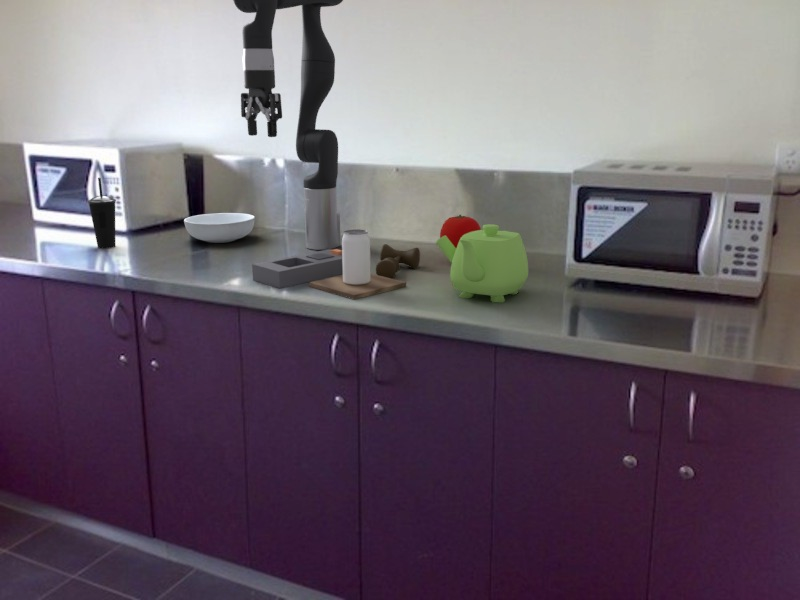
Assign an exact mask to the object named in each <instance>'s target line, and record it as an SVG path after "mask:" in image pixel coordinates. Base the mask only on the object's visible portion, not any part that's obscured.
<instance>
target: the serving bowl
mask: <svg viewBox="0 0 800 600" xmlns="http://www.w3.org/2000/svg"><path fill="white" fill-rule="evenodd" d="M255 220H256V216H255V215H252V214H251V213H250V214H249V213H241V212H240V213H239V212H219V213H218V212H217V213H205V214H203V213H202V214H197V215H192V216H189V217H186V218H184V220H183V223H184V226H185V229H186V231H187V233H188V234H189V235H190V236H191V237H193V238H194V239H197V240H199V241H202V242H206V243H212V244H213V243H214V244H219V243H220V244H221V243H223V244H224V243H230V242H235V241H237V240H239V239H242V238H244V237H246V236H247V235H249V234H250V233H251V232H252V230H253V228H254V226H255V222H256V221H255Z"/></svg>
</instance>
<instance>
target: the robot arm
mask: <svg viewBox="0 0 800 600" xmlns="http://www.w3.org/2000/svg"><path fill="white" fill-rule="evenodd" d="M232 1H233V4H234V6H235V7H236V9H238V10H239V11H241V12H242V13H245V14H252V13H253V14H254V13H255V16H254V19H253V20H252V21H251V22H248V23H246V24H244V25H243V26H242V47H243V48H242V51H243V54H242V70H243V84H244V85H243V87H244V89H247V90H248V92H242V93H241V94H240V110H241V111H240V115H241V117H242V118H244V119H245V120H246V122H247V133H248V135H249V136H250V137H251V136H257V135H258V128H257V127H258V125H257V120H256V119H257V117H258V115H259V114H260V113H262V114H263V115H264V116H265V119H266V121H267V122H266V123H267V124H266V125H267V126H266V127H267V128H266V129H267V137H269V138H276V137H277V136H278V126H277V125H278V123H277V122H278V120H279V119H280V120H281V119H282V118H283V110H282V97H281V94H280V93H278V92H277V93H275V92H274V93H273V92H272V90H273V89H276V76H275V75H276V73H275V72H276V71H275V57H274V52H273V36H272V35H273V34H272V33H273V32H272V31H273V27H274V22H275V17H276V11H277V10H282V9H283V10H284V9H289V8H296V7H299V6H301V17H302V20H301V21H302V22H301V24H302V42H301V43H302V44H301V45H302V47H301V49H302V50H301V61H300V62H301V65H300V99H299V102H300V103H299V110H298V112H299V113H298V122H297V129H296V138H295V139H296V140H295V150H296V156H297V157H298V159H299V160H300V161H301V162H303V163H308V164H309V163H312V164H318V167H317V168H318V169H317V170H316V172H313V174H310V175H306V176H305V177H304V178H303V200H304V201H303V203H304V227H305V228H304V230H305V231H304V232H305V247H306V249H310V250H315V251H316V250H319V251H323V250H328V249H331V250H334V249H337V248H338V247H340V246H341V247H342V238H341V213H340V212H338V202H337V201H338V200H337V198H338V196H337V180H338V174H339V172H338V171H339V142H338V138H337V137H338V136H337V135H336V132H335V131H333V130H331V129H319V128H318V129H316V126H317V125H316V124H317V123H316V122H317V120H318V119H317V117H318V113H319V110H320V108H321V106H322V105H323V103H324V101H325V100H326V98H327V96H328V95H329V94H330V91H331V90H332V88H333V86H334V83H335V74H336V71H335V70H336V68H335V67H336V57H335V53H334V51H333V48H332V47H331V44H330V42H329V40H328V39H327V37H326V34H325V32H324V30H323V26H322V22H321V21H322V19H321V9H322V8H326V7H327V8H328V7H336V6H338V5H340V4H341V3H342V2H344V0H232ZM276 111H277V113H276Z"/></svg>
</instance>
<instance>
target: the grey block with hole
mask: <svg viewBox="0 0 800 600" xmlns="http://www.w3.org/2000/svg"><path fill="white" fill-rule="evenodd" d="M251 268H252V281H255V282H258V283H261V284H264V285H268V286H271V287H273V288H277V289H284V288H288V287H291V286H293V287H294V286H297V285H302V284H305V283H309V282H313V281H318V280H322V279H327V278H331V277H335V276H340V275H343V264H342V249H338V248H333V249H325V250H319V251H313V252H309V253H304V254H303V253H302V254H297V255H293V256H287V257H281V258H276V259H271V260H265V261H260V262H256V263H252V264H251Z"/></svg>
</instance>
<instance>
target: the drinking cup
mask: <svg viewBox="0 0 800 600" xmlns="http://www.w3.org/2000/svg"><path fill="white" fill-rule="evenodd" d="M97 181H98V189H99V195H97V196H94V197H92V198H90V199H88V200H87V203H88V206H89V210H90V215H91V220H92V226H93V230H94V235H95V240H96V244H97V248H98V249H110V248H111V249H112V248H115V247H116V202H117V199H116V198H113V197H111V196H109V195H103V188H102V177H98V178H97Z"/></svg>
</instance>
